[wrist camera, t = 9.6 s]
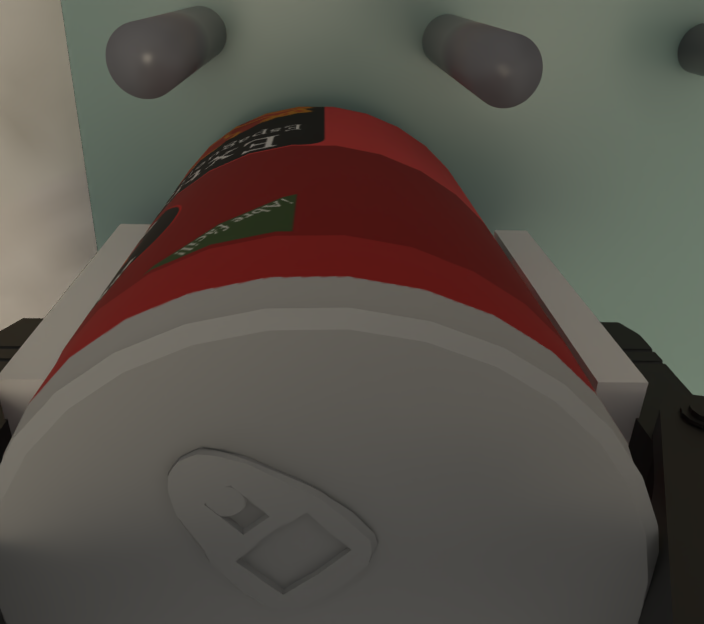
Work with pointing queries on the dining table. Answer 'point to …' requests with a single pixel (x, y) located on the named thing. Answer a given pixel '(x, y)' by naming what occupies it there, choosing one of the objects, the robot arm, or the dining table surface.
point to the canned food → (320, 414)
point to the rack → (437, 120)
